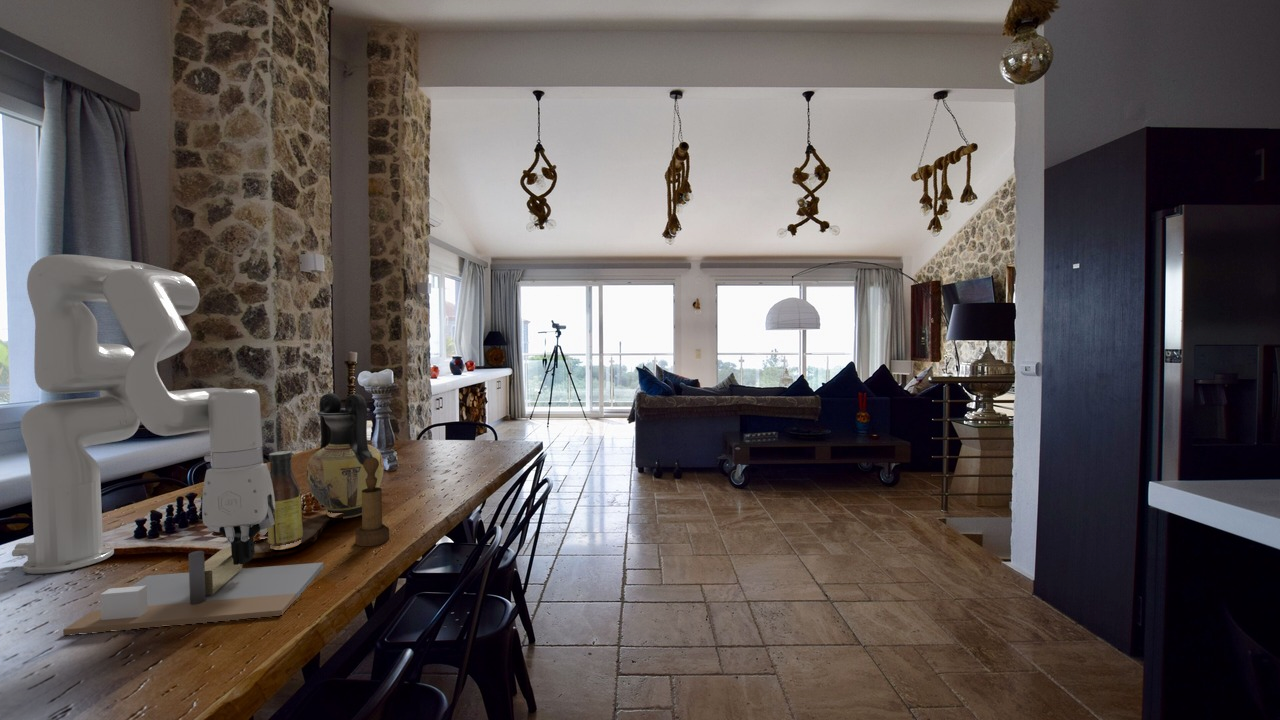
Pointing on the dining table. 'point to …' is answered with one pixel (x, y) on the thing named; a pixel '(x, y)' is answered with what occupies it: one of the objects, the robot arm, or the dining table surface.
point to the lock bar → (219, 570)
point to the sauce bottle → (285, 501)
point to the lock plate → (234, 585)
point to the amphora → (342, 456)
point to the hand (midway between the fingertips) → (243, 561)
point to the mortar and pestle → (371, 510)
